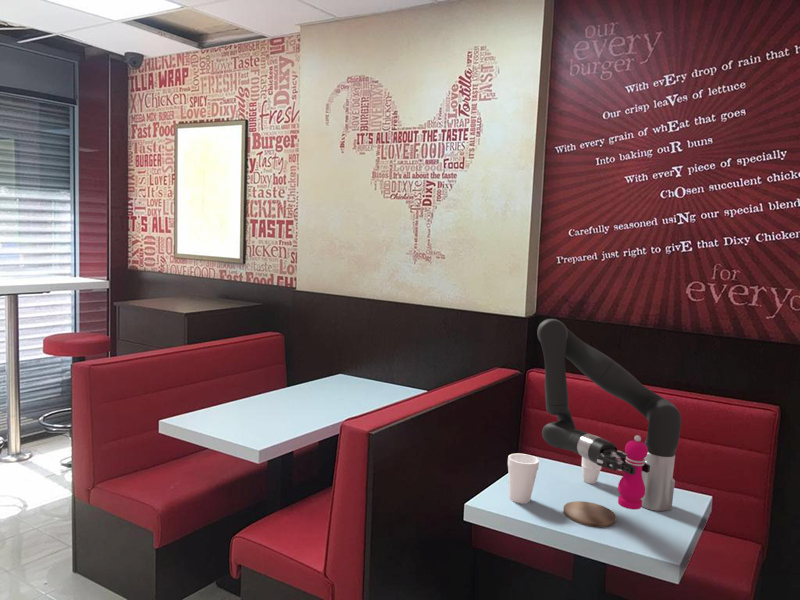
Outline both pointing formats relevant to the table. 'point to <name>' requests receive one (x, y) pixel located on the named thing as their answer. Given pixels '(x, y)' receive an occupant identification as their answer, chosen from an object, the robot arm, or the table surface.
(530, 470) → the foam cup
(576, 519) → the walnut board
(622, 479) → the pepper mill
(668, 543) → the table surface
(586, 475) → the soft serve ice cream cone
